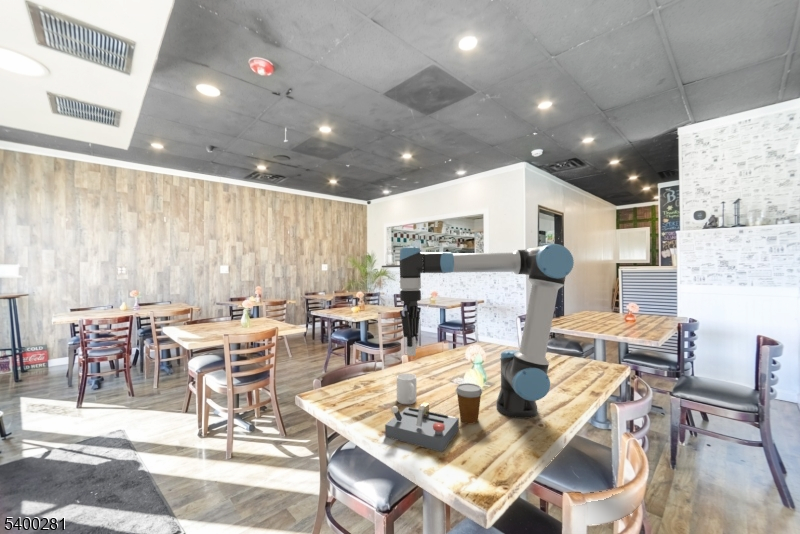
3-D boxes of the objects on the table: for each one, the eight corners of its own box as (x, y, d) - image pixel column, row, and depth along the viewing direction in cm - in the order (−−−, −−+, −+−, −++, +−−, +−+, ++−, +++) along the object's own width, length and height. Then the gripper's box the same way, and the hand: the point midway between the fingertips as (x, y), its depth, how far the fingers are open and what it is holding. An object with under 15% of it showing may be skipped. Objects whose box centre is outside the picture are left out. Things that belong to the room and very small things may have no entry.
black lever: (403, 416, 113) (398, 405, 110) (401, 422, 112) (395, 411, 108) (398, 415, 114) (392, 404, 111) (395, 421, 113) (389, 409, 109)
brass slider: (429, 413, 118) (429, 403, 118) (425, 416, 115) (425, 406, 115) (424, 412, 119) (423, 402, 119) (420, 415, 116) (420, 405, 116)
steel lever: (423, 427, 108) (426, 405, 110) (420, 426, 106) (424, 405, 109) (417, 425, 109) (420, 404, 111) (414, 425, 107) (418, 403, 110)
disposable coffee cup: (477, 428, 116) (477, 393, 116) (451, 421, 121) (451, 388, 121) (485, 418, 124) (485, 385, 124) (461, 412, 129) (461, 381, 129)
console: (458, 429, 115) (458, 416, 115) (442, 452, 101) (442, 436, 101) (407, 417, 124) (407, 405, 124) (385, 436, 110) (385, 422, 110)
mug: (423, 406, 135) (423, 381, 135) (404, 409, 132) (404, 383, 132) (411, 396, 146) (411, 372, 146) (394, 398, 143) (393, 374, 143)
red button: (446, 432, 105) (446, 424, 105) (442, 437, 102) (442, 429, 102) (435, 430, 106) (435, 421, 106) (431, 434, 103) (431, 426, 103)
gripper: (409, 288, 128) (409, 350, 128) (392, 290, 117) (393, 358, 116) (427, 288, 125) (427, 352, 124) (412, 291, 113) (413, 360, 113)
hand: (411, 354), depth 120 cm, fingers closed
